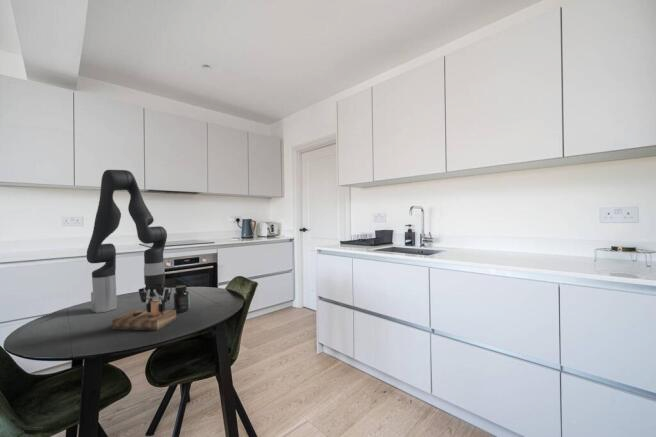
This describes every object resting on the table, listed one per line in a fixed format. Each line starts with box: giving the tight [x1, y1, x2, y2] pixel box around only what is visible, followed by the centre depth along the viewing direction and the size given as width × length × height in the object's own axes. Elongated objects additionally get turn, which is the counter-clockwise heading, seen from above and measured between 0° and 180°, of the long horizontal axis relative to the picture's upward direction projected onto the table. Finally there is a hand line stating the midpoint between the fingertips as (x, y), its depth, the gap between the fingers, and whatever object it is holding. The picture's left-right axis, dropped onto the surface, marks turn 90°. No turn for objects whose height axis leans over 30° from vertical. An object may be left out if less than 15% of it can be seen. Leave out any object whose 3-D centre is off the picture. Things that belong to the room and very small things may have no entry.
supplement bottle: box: [172, 284, 190, 314], centre depth 136 cm, size 7×7×12 cm
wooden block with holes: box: [112, 308, 177, 331], centre depth 121 cm, size 20×12×4 cm, turn 84°
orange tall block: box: [151, 299, 161, 317], centre depth 120 cm, size 4×4×9 cm
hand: (156, 311), depth 120 cm, fingers open, 5 cm apart
